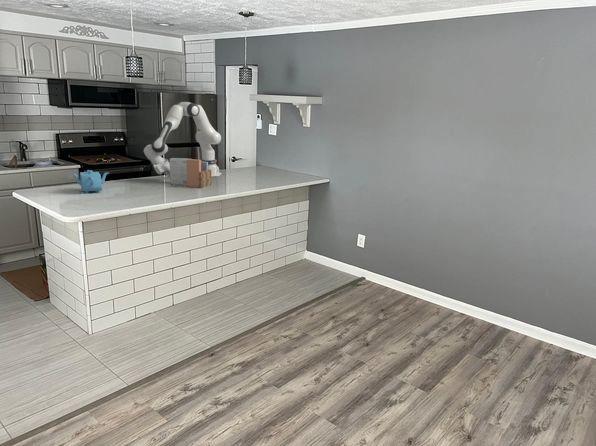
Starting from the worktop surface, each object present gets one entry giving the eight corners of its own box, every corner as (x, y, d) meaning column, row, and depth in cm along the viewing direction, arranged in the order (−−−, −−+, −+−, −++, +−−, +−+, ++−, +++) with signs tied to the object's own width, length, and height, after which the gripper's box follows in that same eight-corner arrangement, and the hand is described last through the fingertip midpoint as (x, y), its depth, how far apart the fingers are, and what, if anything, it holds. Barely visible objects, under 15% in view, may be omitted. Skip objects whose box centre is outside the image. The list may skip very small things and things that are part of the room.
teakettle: (93, 195, 301) (92, 173, 297) (70, 192, 305) (68, 171, 301) (111, 190, 318) (110, 169, 315) (89, 187, 323) (88, 167, 319)
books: (196, 183, 359) (196, 157, 353) (208, 184, 357) (208, 158, 351) (187, 186, 344) (186, 159, 339) (199, 187, 342) (199, 160, 336)
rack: (209, 184, 358) (209, 169, 355) (211, 184, 357) (211, 169, 354) (199, 188, 341) (198, 172, 338) (201, 188, 341) (201, 172, 337)
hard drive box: (192, 183, 357) (191, 158, 352) (188, 185, 350) (188, 159, 344) (173, 182, 358) (172, 157, 353) (169, 184, 351) (169, 158, 346)
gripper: (154, 161, 343) (166, 175, 344) (168, 158, 363) (179, 171, 363) (149, 167, 346) (161, 180, 346) (163, 163, 365) (174, 176, 365)
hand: (170, 176), depth 355 cm, fingers closed
